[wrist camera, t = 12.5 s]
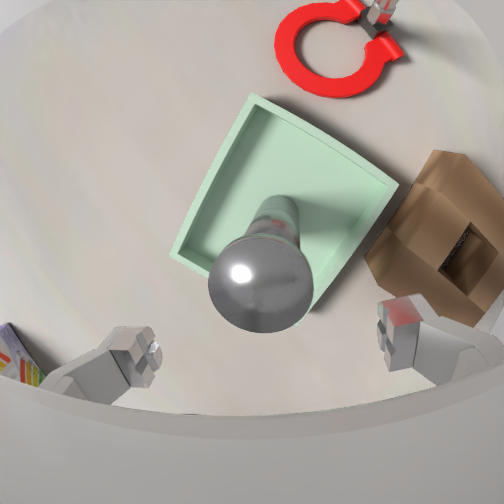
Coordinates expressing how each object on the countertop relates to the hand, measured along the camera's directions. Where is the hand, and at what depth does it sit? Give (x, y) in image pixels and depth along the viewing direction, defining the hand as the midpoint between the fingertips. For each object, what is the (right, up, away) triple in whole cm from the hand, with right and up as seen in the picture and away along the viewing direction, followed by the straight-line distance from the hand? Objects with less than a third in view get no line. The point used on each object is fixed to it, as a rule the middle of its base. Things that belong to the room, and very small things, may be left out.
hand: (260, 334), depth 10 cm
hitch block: (+16, +4, +12) cm, 20 cm away
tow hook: (+6, +18, +8) cm, 21 cm away
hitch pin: (+2, +6, +13) cm, 14 cm away
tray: (+2, +6, +13) cm, 15 cm away
